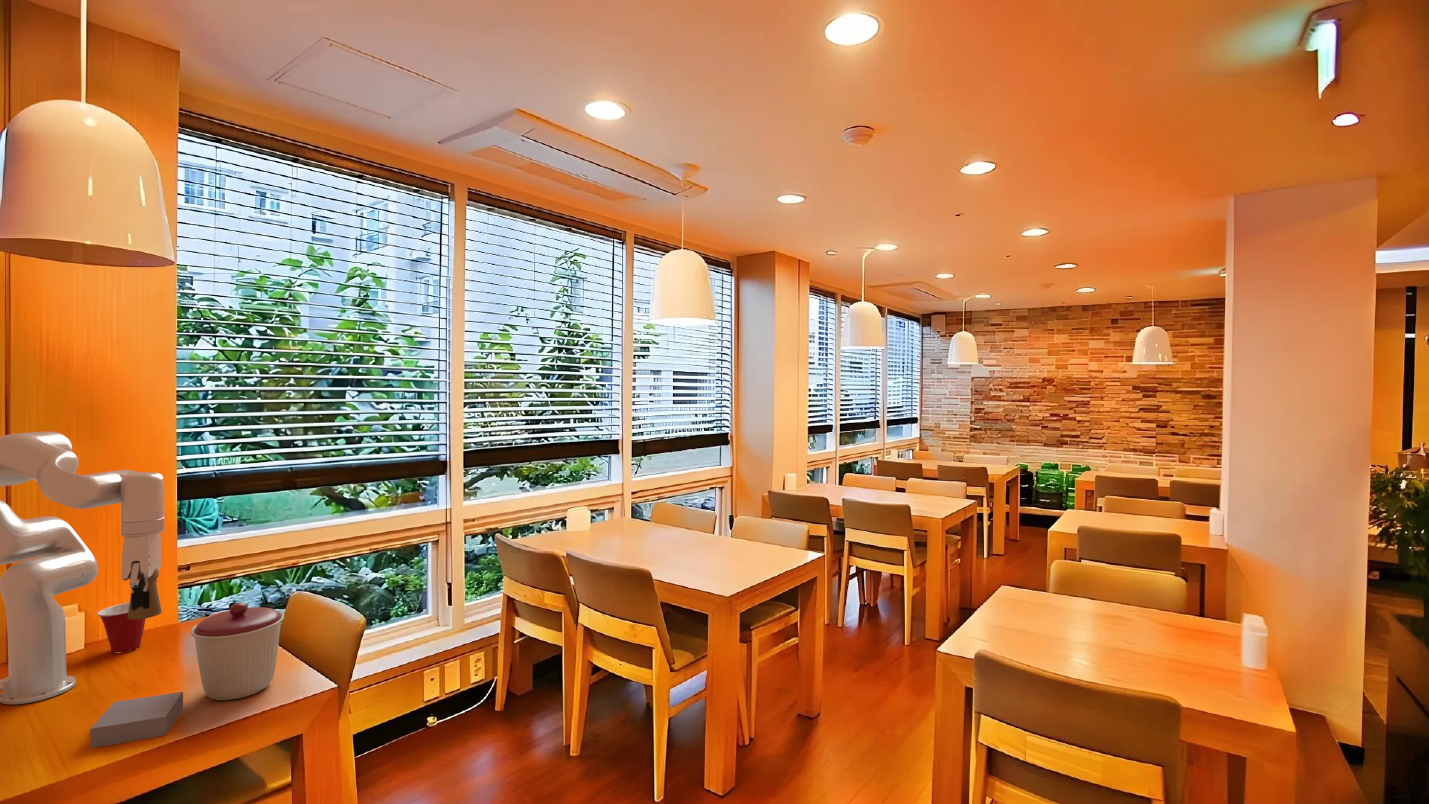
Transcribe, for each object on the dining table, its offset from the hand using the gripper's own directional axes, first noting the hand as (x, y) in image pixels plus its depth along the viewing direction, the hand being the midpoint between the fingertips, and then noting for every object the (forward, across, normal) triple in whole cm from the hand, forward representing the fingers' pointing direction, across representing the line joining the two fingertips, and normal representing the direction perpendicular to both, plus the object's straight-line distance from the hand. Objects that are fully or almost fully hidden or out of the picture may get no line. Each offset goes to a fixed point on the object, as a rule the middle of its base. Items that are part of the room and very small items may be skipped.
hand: (144, 604), depth 152 cm
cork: (+2, 0, 0) cm, 2 cm away
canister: (+22, +4, +19) cm, 29 cm away
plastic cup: (+22, -37, -15) cm, 46 cm away
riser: (+22, +15, +3) cm, 27 cm away
